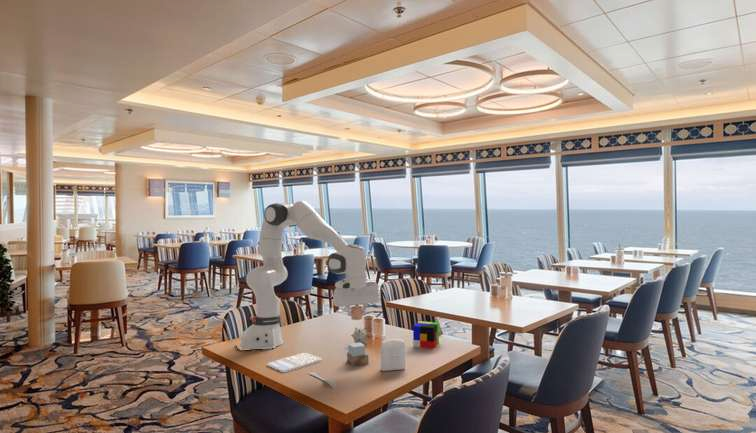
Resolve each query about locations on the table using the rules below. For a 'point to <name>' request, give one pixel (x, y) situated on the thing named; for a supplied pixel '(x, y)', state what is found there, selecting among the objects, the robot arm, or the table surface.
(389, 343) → the photo printer
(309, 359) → the calculator
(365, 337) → the game die
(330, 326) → the table surface
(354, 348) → the blue-grey cube
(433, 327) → the puzzle toy
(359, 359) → the walnut block
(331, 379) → the fork
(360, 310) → the terracotta capsule
